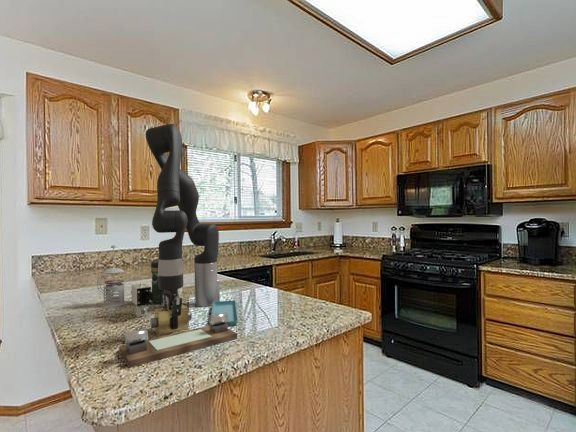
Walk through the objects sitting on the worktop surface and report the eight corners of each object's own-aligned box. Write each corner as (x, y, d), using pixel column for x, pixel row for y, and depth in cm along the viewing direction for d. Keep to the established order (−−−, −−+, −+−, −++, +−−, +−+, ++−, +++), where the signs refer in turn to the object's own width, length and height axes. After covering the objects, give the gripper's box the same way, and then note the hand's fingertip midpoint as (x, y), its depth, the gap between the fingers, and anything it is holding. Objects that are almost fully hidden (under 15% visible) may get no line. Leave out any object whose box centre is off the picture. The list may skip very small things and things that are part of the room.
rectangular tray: (238, 326, 107) (238, 319, 107) (210, 329, 106) (209, 321, 106) (235, 306, 133) (235, 300, 133) (212, 307, 131) (212, 301, 131)
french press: (119, 307, 133) (118, 245, 133) (91, 307, 133) (90, 246, 134) (131, 301, 143) (130, 244, 143) (105, 301, 143) (104, 244, 143)
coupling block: (187, 324, 109) (187, 303, 109) (192, 328, 106) (192, 306, 106) (149, 332, 102) (149, 310, 102) (153, 336, 98) (153, 313, 98)
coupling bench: (219, 328, 105) (218, 307, 105) (237, 338, 96) (236, 316, 96) (119, 351, 87) (119, 327, 88) (129, 367, 78) (128, 340, 78)
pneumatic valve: (138, 320, 115) (138, 286, 115) (131, 313, 124) (130, 281, 124) (155, 317, 118) (154, 284, 118) (146, 310, 127) (145, 279, 127)
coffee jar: (177, 301, 141) (176, 258, 141) (160, 305, 135) (160, 260, 135) (164, 298, 147) (164, 257, 147) (148, 302, 141) (147, 258, 141)
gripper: (190, 274, 100) (191, 330, 100) (175, 269, 112) (175, 319, 112) (165, 277, 96) (166, 335, 96) (152, 271, 107) (152, 323, 107)
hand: (171, 326), depth 104 cm, fingers closed on coupling block, 4 cm apart
